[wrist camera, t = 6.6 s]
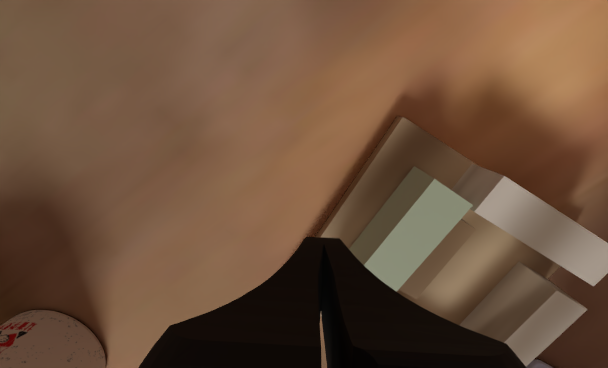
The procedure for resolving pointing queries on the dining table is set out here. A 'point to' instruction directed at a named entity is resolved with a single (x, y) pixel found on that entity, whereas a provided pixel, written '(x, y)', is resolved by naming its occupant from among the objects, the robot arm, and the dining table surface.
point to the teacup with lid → (48, 342)
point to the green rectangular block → (408, 228)
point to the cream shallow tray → (479, 244)
